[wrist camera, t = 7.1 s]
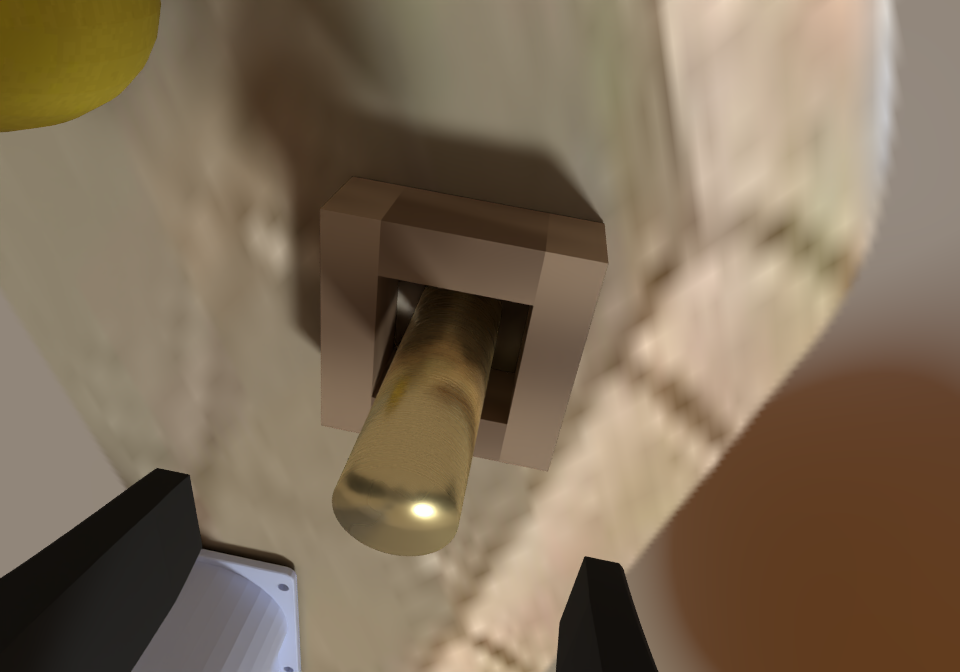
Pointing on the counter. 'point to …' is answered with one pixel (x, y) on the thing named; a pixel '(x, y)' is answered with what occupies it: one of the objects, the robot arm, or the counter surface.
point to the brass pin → (422, 429)
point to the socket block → (466, 268)
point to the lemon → (69, 56)
